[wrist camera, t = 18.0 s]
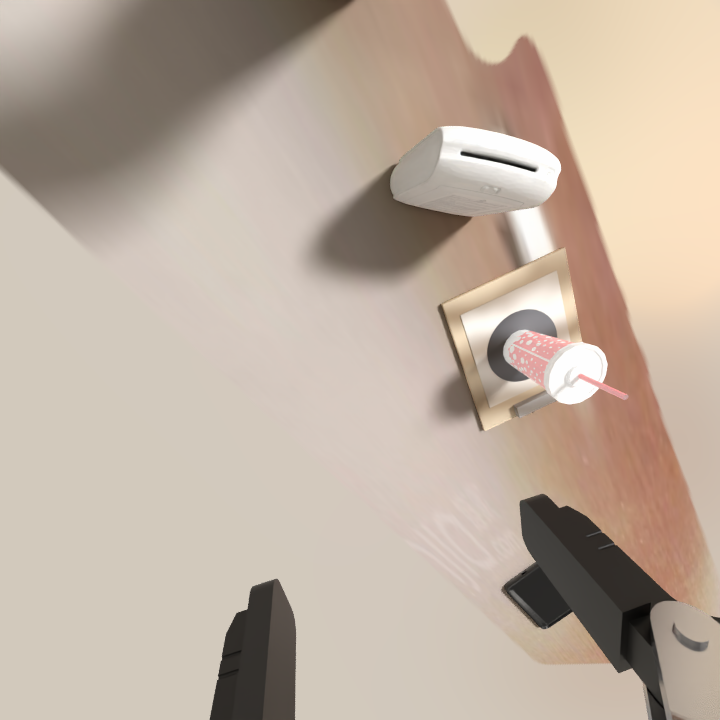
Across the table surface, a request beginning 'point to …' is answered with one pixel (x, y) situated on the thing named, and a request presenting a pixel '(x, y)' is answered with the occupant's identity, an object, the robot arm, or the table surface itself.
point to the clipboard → (499, 321)
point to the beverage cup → (559, 365)
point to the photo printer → (474, 173)
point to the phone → (538, 596)
